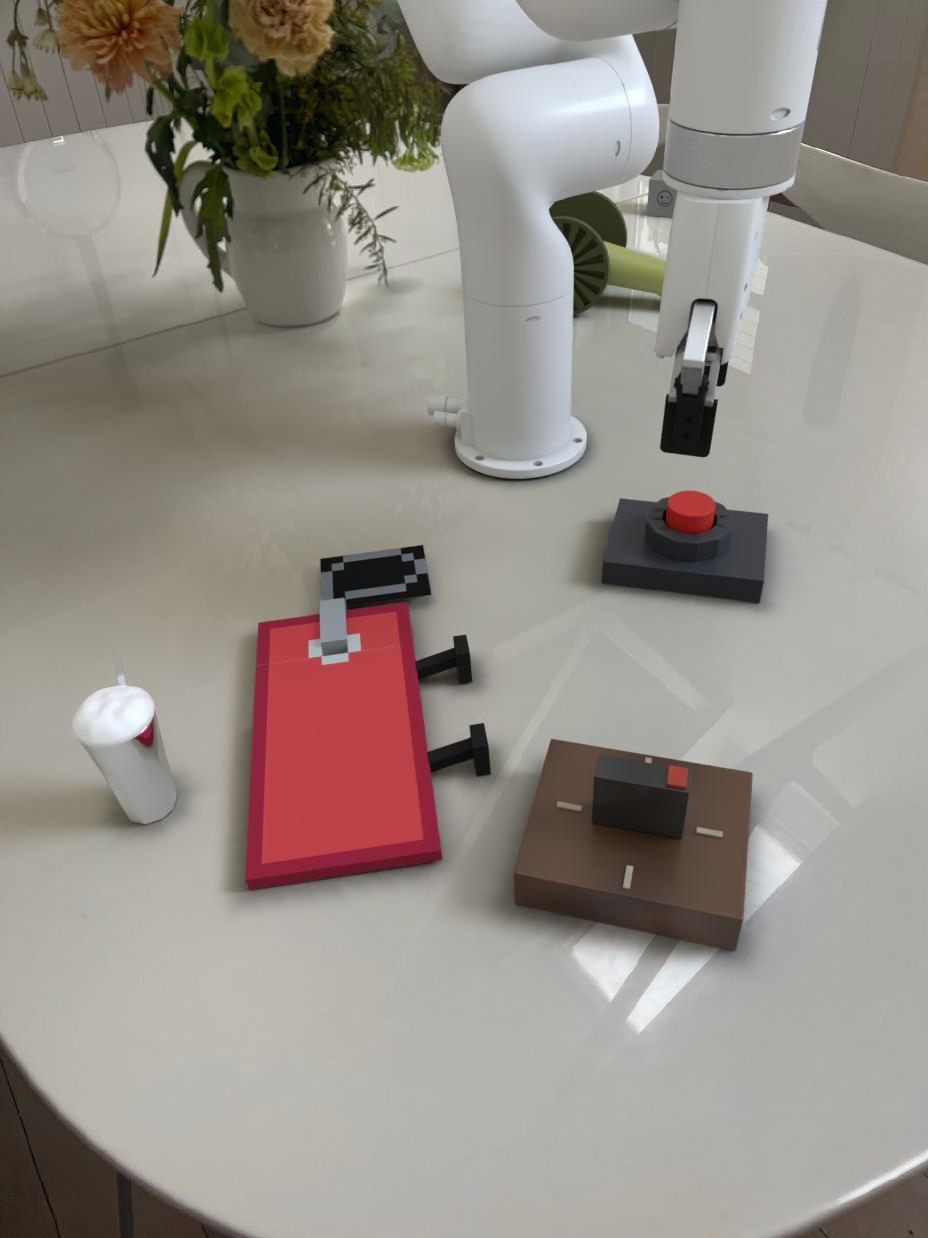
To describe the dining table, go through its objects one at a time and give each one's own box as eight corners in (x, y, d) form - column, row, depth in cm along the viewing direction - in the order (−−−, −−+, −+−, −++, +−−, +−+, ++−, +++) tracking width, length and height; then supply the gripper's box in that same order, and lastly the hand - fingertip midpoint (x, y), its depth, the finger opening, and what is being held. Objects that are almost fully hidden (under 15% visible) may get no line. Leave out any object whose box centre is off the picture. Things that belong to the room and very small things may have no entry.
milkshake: (196, 764, 62) (155, 651, 55) (180, 831, 58) (134, 717, 51) (127, 768, 62) (78, 656, 55) (106, 835, 58) (51, 722, 51)
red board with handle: (446, 550, 78) (264, 575, 77) (443, 522, 76) (257, 548, 75) (506, 854, 55) (250, 894, 54) (504, 825, 53) (239, 866, 53)
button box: (601, 583, 74) (603, 542, 71) (618, 519, 81) (620, 479, 78) (759, 603, 71) (767, 561, 69) (764, 535, 78) (772, 494, 75)
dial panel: (514, 904, 53) (513, 871, 51) (550, 770, 60) (550, 736, 58) (735, 952, 50) (744, 918, 48) (745, 804, 57) (753, 770, 55)
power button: (663, 532, 73) (664, 513, 71) (668, 506, 75) (670, 487, 74) (711, 537, 72) (713, 518, 71) (714, 511, 74) (717, 492, 73)
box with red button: (591, 822, 53) (594, 773, 50) (596, 800, 54) (598, 751, 51) (682, 839, 52) (689, 789, 49) (684, 816, 53) (692, 766, 50)
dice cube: (646, 215, 140) (649, 179, 137) (655, 204, 143) (657, 169, 140) (680, 217, 138) (683, 181, 135) (687, 207, 142) (691, 171, 138)
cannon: (728, 291, 117) (741, 194, 109) (716, 330, 108) (728, 228, 101) (533, 277, 124) (532, 185, 116) (507, 313, 115) (504, 216, 108)
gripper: (684, 108, 61) (658, 354, 73) (640, 197, 49) (617, 476, 60) (805, 113, 59) (759, 364, 71) (790, 207, 47) (737, 492, 59)
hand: (693, 415), depth 66 cm, fingers open, 9 cm apart
